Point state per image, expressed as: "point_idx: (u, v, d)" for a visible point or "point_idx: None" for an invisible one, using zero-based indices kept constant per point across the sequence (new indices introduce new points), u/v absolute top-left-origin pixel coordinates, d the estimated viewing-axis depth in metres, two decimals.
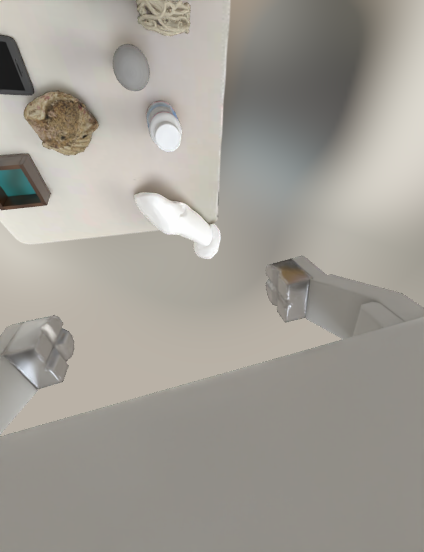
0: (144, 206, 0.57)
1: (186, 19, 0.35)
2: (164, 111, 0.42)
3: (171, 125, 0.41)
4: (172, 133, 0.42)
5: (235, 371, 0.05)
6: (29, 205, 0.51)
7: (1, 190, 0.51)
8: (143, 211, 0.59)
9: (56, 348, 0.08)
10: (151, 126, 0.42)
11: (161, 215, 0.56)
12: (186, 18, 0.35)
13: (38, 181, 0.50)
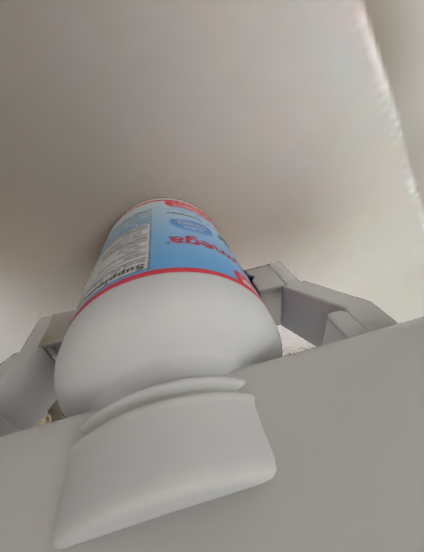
0: None
1: None
2: (91, 295, 0.06)
3: (121, 511, 0.03)
4: None
5: (235, 371, 0.05)
6: None
7: None
8: None
9: None
10: None
11: None
12: None
13: None
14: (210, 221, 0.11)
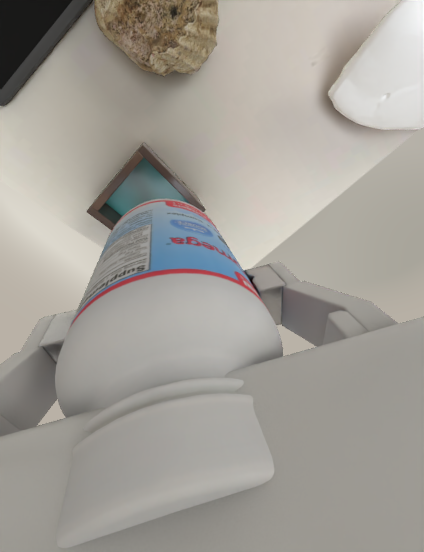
0: (376, 78, 0.23)
1: None
2: (92, 296, 0.06)
3: (123, 513, 0.03)
4: None
5: (235, 371, 0.05)
6: None
7: None
8: (367, 106, 0.25)
9: None
10: None
11: None
12: None
13: (176, 177, 0.27)
14: (210, 222, 0.11)
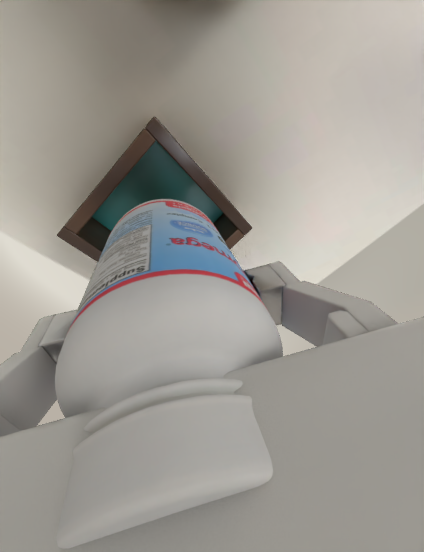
0: None
1: None
2: (92, 297, 0.06)
3: (123, 514, 0.03)
4: None
5: (235, 371, 0.05)
6: None
7: None
8: None
9: None
10: None
11: None
12: None
13: None
14: (210, 222, 0.11)
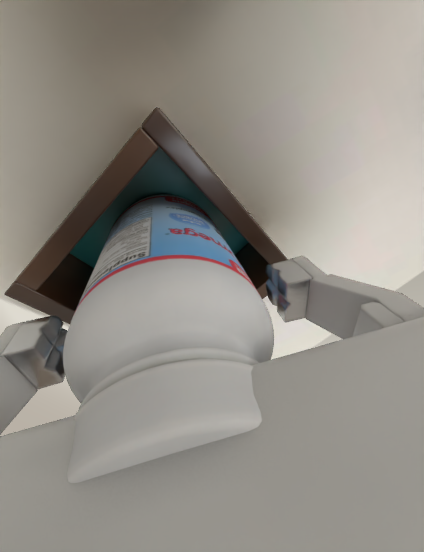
0: None
1: None
2: (96, 280, 0.06)
3: (127, 449, 0.03)
4: None
5: None
6: None
7: None
8: None
9: (56, 348, 0.08)
10: None
11: None
12: None
13: None
14: (208, 216, 0.12)
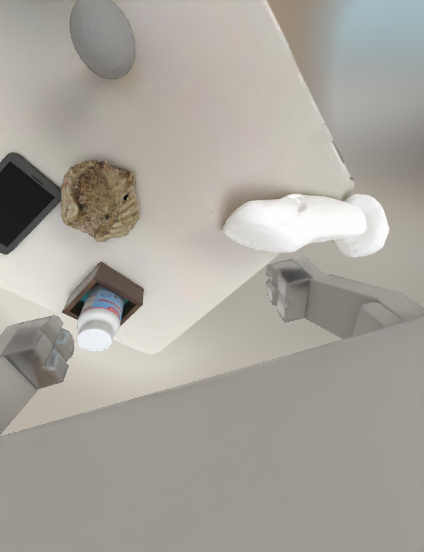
0: (241, 233, 0.36)
1: None
2: (82, 311, 0.35)
3: (84, 331, 0.32)
4: (93, 335, 0.33)
5: (235, 371, 0.05)
6: (128, 315, 0.42)
7: None
8: (244, 242, 0.39)
9: (56, 348, 0.08)
10: None
11: (271, 228, 0.33)
12: None
13: (122, 284, 0.41)
14: None
